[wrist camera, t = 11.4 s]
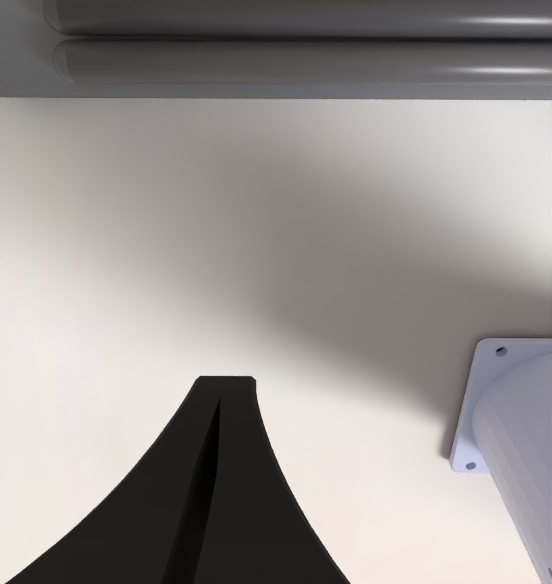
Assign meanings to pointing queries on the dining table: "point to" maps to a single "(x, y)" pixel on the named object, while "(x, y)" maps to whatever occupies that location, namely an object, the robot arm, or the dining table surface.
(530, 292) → the dining table surface
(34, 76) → the grey base plate
